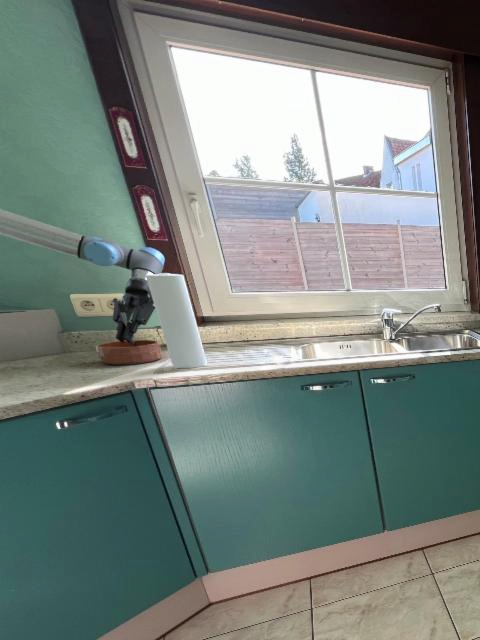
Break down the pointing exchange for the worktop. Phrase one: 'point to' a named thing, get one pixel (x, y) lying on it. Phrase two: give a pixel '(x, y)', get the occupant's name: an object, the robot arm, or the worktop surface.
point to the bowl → (129, 352)
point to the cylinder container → (177, 320)
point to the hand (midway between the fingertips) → (123, 339)
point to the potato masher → (125, 320)
